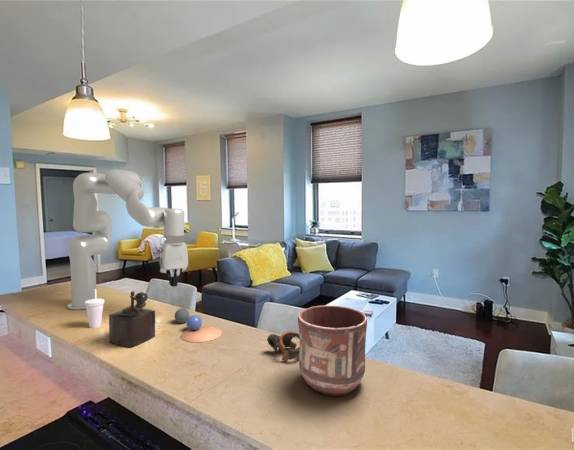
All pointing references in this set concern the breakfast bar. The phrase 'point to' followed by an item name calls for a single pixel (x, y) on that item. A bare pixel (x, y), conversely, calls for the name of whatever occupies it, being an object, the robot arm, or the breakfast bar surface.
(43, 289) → the breakfast bar surface
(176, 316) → the gray ball
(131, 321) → the brown coffee grinder
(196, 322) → the object ball
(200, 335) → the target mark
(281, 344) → the brown curved piece
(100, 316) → the smoothie
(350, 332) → the pottery
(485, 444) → the breakfast bar surface
